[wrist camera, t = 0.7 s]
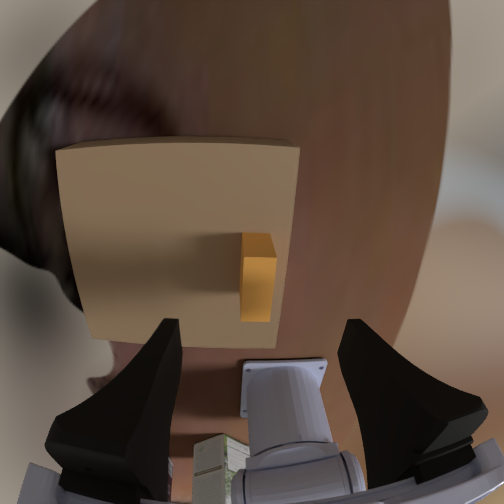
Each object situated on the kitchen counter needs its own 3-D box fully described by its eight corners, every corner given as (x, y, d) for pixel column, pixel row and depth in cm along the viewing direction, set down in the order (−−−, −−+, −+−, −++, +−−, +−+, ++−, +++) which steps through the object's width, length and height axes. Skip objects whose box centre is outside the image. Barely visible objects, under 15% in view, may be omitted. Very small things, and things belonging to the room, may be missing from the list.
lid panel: (274, 342, 22) (280, 378, 19) (94, 333, 21) (79, 365, 18) (297, 146, 16) (314, 156, 13) (60, 148, 15) (27, 161, 12)
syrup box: (192, 443, 35) (188, 539, 22) (224, 431, 33) (226, 537, 20) (221, 457, 37) (223, 545, 24) (253, 445, 36) (261, 541, 23)
